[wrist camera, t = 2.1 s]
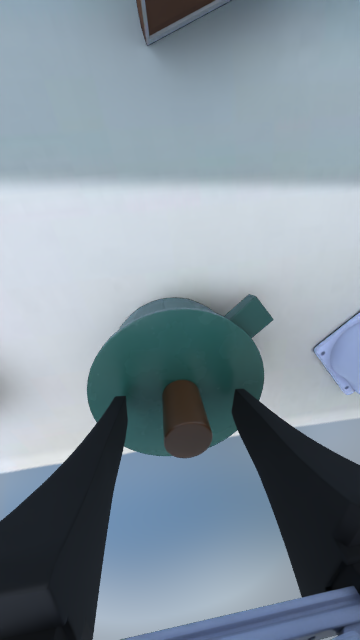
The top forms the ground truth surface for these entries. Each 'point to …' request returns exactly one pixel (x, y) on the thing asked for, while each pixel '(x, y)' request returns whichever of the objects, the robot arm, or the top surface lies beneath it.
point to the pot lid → (176, 379)
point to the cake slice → (171, 15)
